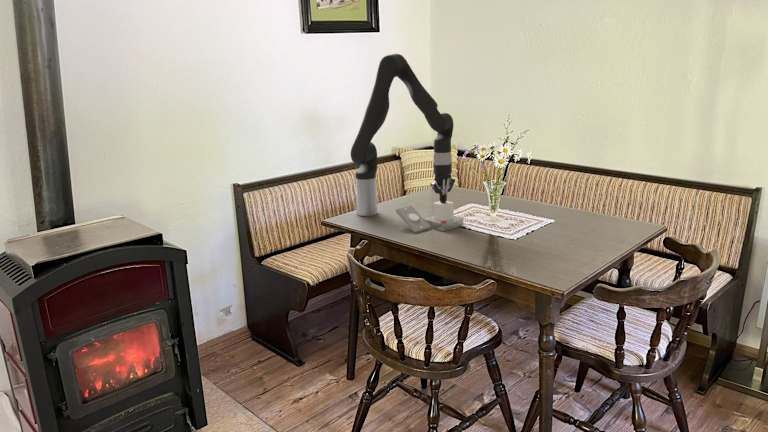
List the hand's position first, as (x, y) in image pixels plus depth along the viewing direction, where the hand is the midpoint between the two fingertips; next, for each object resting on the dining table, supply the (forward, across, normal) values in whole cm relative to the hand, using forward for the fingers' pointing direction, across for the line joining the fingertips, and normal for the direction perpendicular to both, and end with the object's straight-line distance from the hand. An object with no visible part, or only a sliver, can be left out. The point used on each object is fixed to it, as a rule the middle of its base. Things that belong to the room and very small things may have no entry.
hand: (443, 202), depth 247 cm
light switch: (+10, +11, -7) cm, 17 cm away
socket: (+10, 0, 0) cm, 10 cm away
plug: (+8, 0, 0) cm, 8 cm away
